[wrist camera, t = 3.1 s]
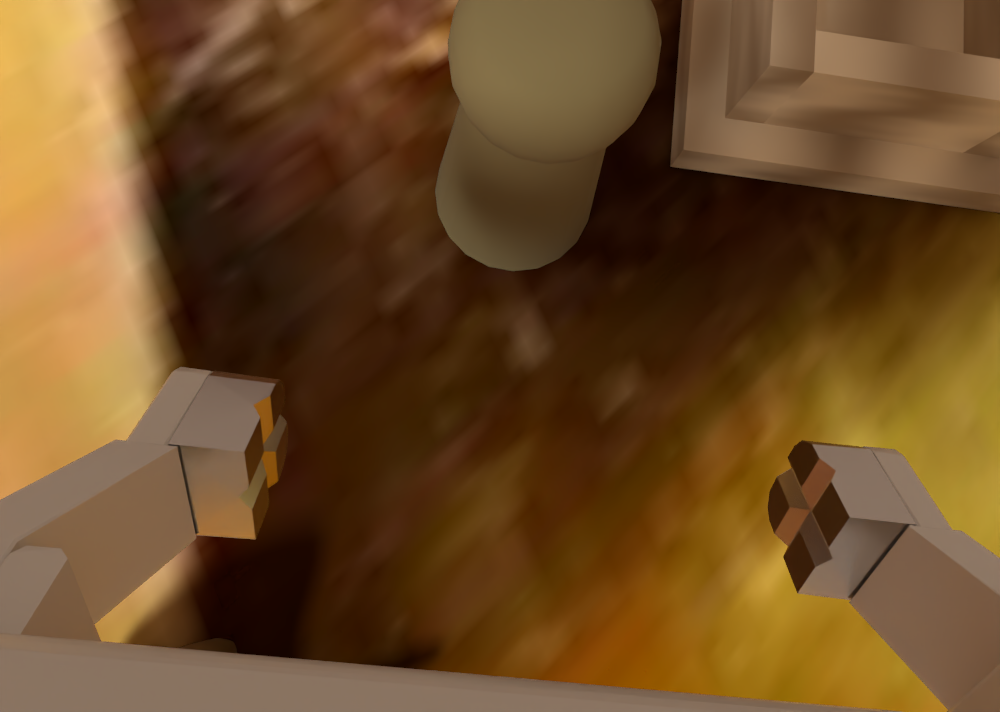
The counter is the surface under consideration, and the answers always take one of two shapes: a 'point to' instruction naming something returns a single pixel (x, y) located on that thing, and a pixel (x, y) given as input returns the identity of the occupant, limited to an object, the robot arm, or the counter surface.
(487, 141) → the cork
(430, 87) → the counter surface
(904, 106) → the shaker holder
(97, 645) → the robot arm
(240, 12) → the counter surface
